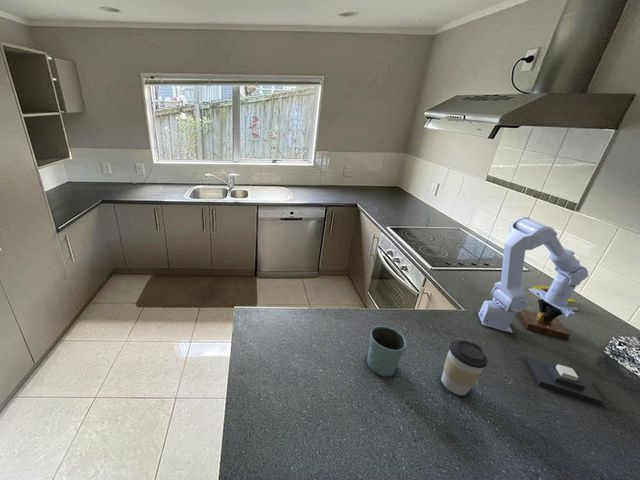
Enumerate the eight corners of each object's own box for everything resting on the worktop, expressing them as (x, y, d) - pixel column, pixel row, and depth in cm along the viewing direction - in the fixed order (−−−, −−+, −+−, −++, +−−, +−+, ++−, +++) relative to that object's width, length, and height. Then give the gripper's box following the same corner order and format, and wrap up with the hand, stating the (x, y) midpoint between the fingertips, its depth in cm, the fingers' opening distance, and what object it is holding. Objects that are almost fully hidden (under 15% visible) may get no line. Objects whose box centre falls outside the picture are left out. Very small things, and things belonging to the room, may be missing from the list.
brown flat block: (526, 328, 109) (529, 323, 108) (517, 313, 118) (519, 308, 117) (567, 339, 105) (570, 334, 104) (554, 322, 113) (557, 317, 112)
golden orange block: (538, 321, 110) (542, 314, 108) (535, 318, 111) (539, 311, 110) (552, 322, 109) (556, 315, 108) (548, 320, 111) (553, 312, 109)
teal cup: (402, 367, 91) (411, 339, 86) (388, 385, 85) (397, 356, 80) (373, 347, 98) (380, 321, 93) (358, 363, 92) (364, 335, 87)
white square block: (560, 376, 86) (563, 372, 85) (554, 367, 89) (557, 363, 88) (576, 381, 84) (578, 377, 84) (569, 372, 88) (572, 368, 87)
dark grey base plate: (538, 385, 86) (543, 377, 85) (526, 361, 95) (530, 353, 93) (600, 405, 81) (607, 397, 80) (581, 378, 89) (587, 370, 88)
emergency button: (550, 282, 133) (584, 302, 119) (546, 289, 134) (579, 310, 120) (530, 281, 133) (562, 301, 119) (526, 289, 134) (557, 310, 120)
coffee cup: (455, 402, 80) (473, 364, 75) (430, 375, 88) (444, 339, 83) (479, 394, 83) (498, 357, 77) (452, 369, 91) (467, 333, 85)
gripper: (591, 304, 98) (572, 334, 103) (554, 280, 111) (540, 308, 116) (569, 302, 98) (552, 332, 103) (535, 279, 111) (521, 306, 117)
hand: (544, 319), depth 110 cm, fingers closed on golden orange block, 2 cm apart
